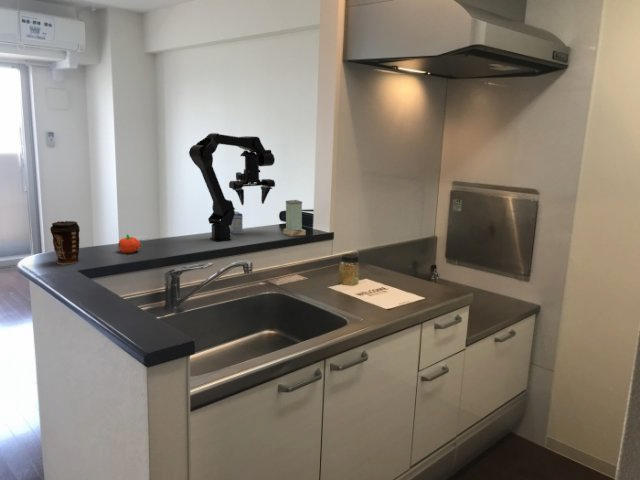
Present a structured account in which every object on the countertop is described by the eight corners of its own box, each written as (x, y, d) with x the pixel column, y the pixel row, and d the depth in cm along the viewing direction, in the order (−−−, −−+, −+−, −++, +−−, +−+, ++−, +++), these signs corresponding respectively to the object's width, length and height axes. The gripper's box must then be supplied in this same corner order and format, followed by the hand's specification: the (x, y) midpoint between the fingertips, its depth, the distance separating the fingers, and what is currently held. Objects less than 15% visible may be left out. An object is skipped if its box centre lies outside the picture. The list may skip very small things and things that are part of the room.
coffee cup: (62, 258, 173) (59, 219, 171) (86, 259, 173) (84, 220, 171) (47, 264, 165) (44, 224, 162) (73, 265, 165) (71, 225, 162)
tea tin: (291, 231, 222) (291, 202, 219) (285, 228, 227) (285, 200, 224) (302, 229, 225) (302, 201, 222) (296, 227, 229) (296, 199, 226)
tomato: (126, 256, 181) (123, 239, 179) (115, 252, 186) (112, 235, 184) (145, 251, 185) (142, 234, 184) (134, 247, 191) (131, 230, 189)
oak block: (291, 237, 222) (291, 231, 221) (283, 234, 228) (283, 228, 227) (305, 235, 226) (305, 230, 225) (297, 233, 231) (297, 227, 231)
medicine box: (227, 230, 230) (227, 211, 228) (237, 230, 232) (237, 211, 230) (232, 234, 223) (232, 214, 221) (242, 233, 224) (242, 213, 223)
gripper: (264, 164, 228) (264, 200, 232) (223, 166, 219) (224, 203, 222) (275, 166, 219) (275, 203, 222) (233, 168, 209) (234, 207, 213)
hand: (252, 204), depth 220 cm, fingers open, 9 cm apart
